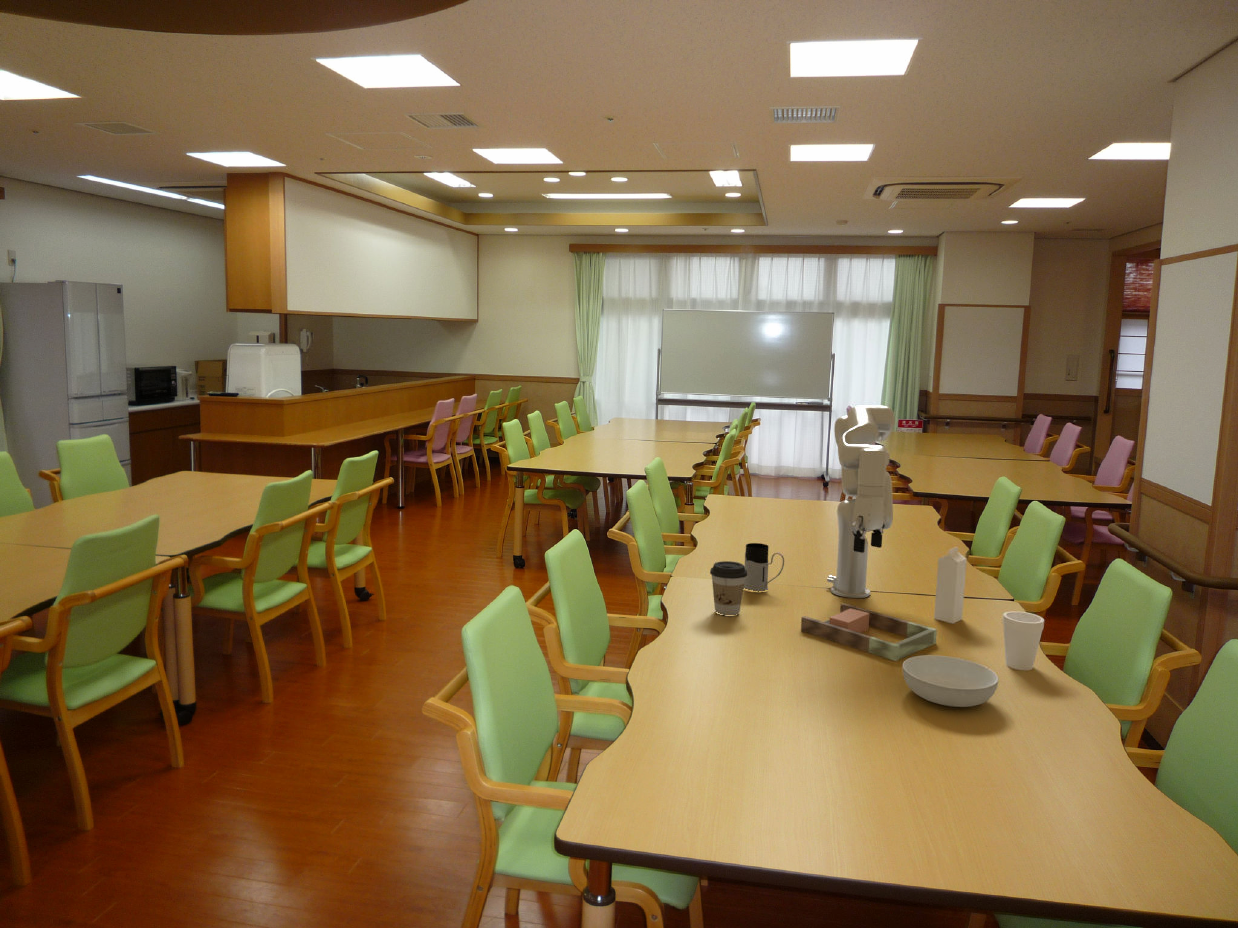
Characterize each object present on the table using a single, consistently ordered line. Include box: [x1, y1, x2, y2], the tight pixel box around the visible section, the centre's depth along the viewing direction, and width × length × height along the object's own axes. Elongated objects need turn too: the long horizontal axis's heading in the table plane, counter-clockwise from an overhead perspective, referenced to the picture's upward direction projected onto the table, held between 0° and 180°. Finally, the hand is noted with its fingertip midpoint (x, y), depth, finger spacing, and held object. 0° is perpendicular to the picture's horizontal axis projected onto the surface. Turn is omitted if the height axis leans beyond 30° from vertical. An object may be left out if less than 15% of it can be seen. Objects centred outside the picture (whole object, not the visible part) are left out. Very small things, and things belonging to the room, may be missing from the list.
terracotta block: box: [828, 608, 870, 633], centre depth 237 cm, size 6×12×5 cm, turn 136°
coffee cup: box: [709, 560, 747, 615], centre depth 251 cm, size 11×11×15 cm
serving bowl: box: [902, 654, 999, 708], centre depth 192 cm, size 21×21×7 cm
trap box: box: [800, 602, 938, 662], centre depth 233 cm, size 30×21×4 cm
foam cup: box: [1001, 610, 1045, 671], centre depth 213 cm, size 10×9×13 cm
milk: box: [933, 546, 968, 624], centre depth 248 cm, size 6×6×22 cm
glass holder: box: [744, 542, 785, 592], centre depth 275 cm, size 9×14×15 cm, turn 54°
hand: (867, 549), depth 239 cm, fingers open, 9 cm apart
